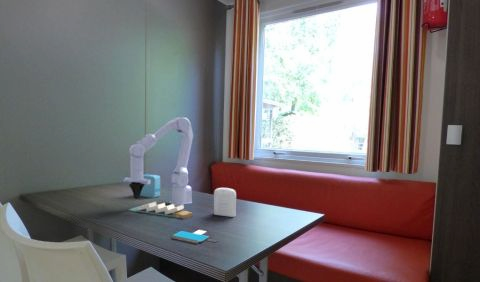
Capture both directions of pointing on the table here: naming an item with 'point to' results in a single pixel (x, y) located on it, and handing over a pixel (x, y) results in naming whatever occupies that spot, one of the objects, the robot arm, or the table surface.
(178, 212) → the ochre domino
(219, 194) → the photo printer
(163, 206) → the cream domino
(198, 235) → the phone stand
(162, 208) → the cream domino
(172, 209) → the cream domino
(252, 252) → the table surface
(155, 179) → the data package
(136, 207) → the teal mat
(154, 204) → the cream domino
